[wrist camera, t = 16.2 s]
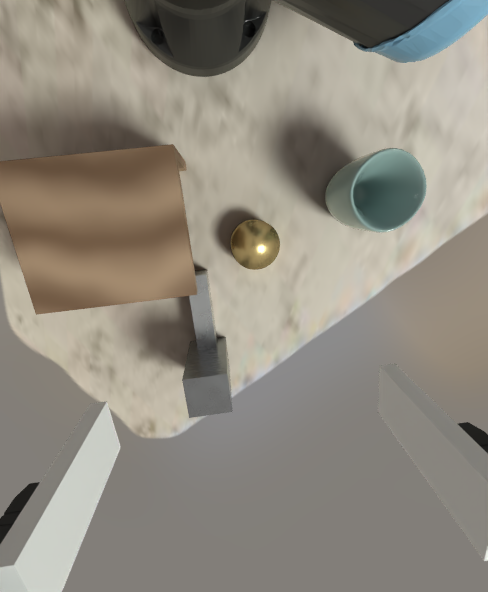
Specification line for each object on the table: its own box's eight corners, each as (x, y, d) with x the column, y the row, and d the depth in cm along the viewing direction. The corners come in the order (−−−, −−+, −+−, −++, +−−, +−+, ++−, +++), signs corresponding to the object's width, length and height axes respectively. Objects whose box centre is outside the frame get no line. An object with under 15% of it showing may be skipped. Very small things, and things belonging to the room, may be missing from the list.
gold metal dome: (228, 221, 39) (229, 222, 36) (274, 217, 39) (278, 218, 36) (232, 267, 41) (233, 271, 38) (276, 263, 41) (280, 267, 38)
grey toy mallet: (179, 273, 40) (166, 293, 30) (216, 268, 40) (215, 287, 31) (195, 372, 44) (189, 417, 35) (229, 368, 45) (232, 411, 35)
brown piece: (49, 175, 36) (-13, 162, 26) (185, 161, 36) (173, 144, 27) (80, 288, 40) (36, 314, 30) (201, 274, 40) (196, 294, 31)
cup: (353, 149, 37) (399, 128, 28) (387, 197, 39) (441, 194, 30) (305, 193, 38) (334, 188, 29) (341, 238, 40) (379, 248, 31)
